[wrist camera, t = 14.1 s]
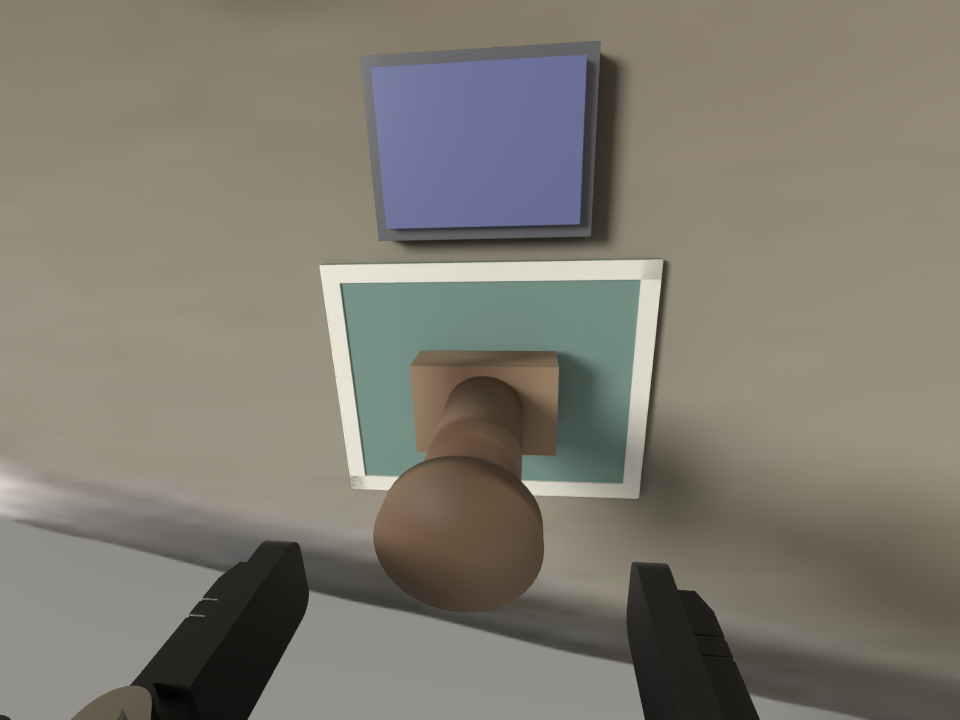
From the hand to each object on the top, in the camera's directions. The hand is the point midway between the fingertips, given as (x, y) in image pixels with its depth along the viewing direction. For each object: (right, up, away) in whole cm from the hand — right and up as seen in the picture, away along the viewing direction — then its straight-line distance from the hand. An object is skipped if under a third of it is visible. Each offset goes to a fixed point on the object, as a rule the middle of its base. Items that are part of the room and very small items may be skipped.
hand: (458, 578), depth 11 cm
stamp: (+1, +4, +11) cm, 11 cm away
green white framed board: (+1, +4, +11) cm, 12 cm away
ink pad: (+1, +14, +7) cm, 15 cm away
